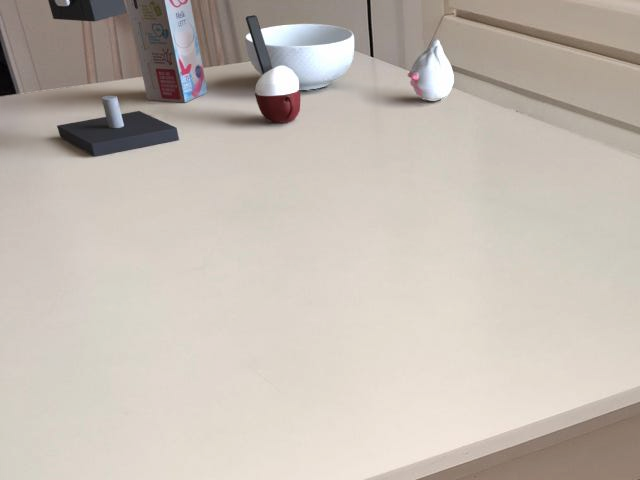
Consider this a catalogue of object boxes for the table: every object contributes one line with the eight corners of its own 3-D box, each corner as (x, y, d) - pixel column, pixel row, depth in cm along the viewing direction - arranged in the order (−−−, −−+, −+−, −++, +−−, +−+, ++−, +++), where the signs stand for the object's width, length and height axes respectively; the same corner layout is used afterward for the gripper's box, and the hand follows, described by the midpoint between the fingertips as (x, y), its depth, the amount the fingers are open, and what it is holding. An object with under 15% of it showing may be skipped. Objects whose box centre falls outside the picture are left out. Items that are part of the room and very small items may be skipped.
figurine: (402, 99, 139) (398, 37, 134) (443, 94, 142) (441, 33, 136) (419, 108, 135) (416, 45, 130) (461, 103, 137) (460, 41, 132)
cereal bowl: (235, 95, 142) (226, 41, 137) (276, 71, 154) (269, 22, 149) (337, 100, 139) (332, 46, 134) (371, 76, 151) (367, 25, 146)
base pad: (94, 156, 118) (83, 113, 115) (60, 137, 125) (48, 96, 121) (179, 139, 124) (170, 98, 120) (142, 122, 130) (132, 82, 127)
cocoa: (305, 126, 128) (292, 25, 120) (260, 129, 127) (244, 28, 119) (300, 110, 135) (288, 13, 127) (258, 112, 134) (243, 15, 126)
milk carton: (207, 92, 143) (174, -85, 128) (185, 102, 139) (148, -80, 124) (171, 90, 145) (134, -86, 130) (147, 99, 140) (106, -81, 125)
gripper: (84, -151, 112) (116, -14, 121) (-38, -141, 98) (9, 12, 107) (126, -151, 110) (156, -12, 120) (9, -141, 96) (52, 15, 106)
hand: (86, 0), depth 113 cm, fingers closed on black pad, 6 cm apart
